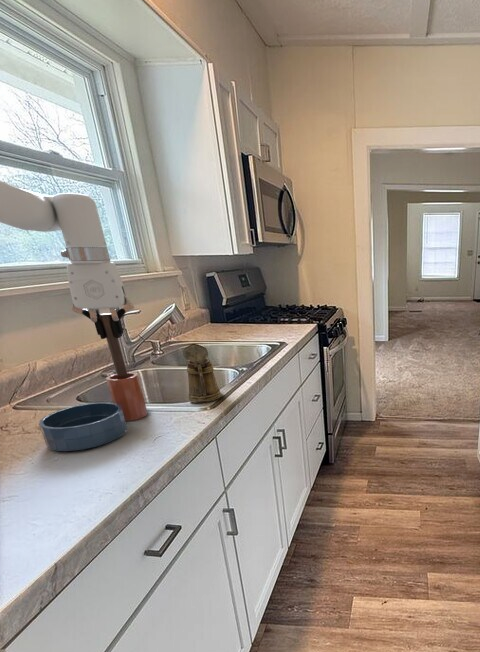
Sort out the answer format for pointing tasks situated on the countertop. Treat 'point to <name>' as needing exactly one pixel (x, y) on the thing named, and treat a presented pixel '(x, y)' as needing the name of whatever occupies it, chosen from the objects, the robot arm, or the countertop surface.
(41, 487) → the countertop surface
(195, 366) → the wooden mug
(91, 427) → the bowl
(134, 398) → the holder
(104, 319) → the stick
